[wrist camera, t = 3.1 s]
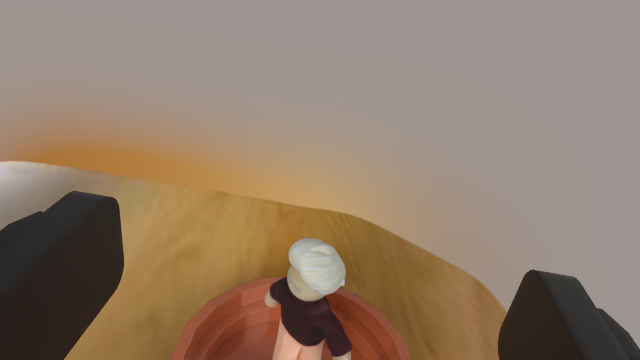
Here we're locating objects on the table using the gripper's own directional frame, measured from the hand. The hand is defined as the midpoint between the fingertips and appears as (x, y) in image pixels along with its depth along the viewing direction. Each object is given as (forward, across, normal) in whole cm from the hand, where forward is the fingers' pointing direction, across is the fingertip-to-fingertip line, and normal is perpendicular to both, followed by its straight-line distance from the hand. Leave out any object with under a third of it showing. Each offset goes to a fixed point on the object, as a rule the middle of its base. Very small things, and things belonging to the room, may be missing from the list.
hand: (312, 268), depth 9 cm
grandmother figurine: (+13, 0, +21) cm, 25 cm away
